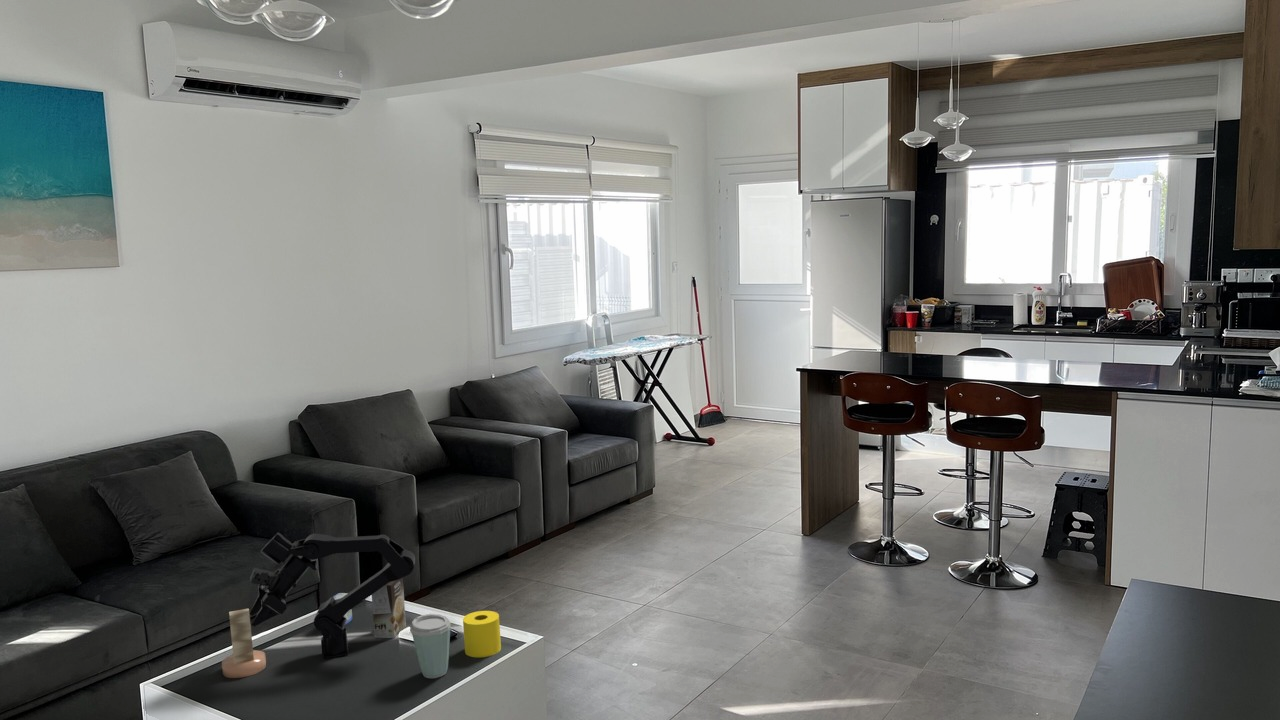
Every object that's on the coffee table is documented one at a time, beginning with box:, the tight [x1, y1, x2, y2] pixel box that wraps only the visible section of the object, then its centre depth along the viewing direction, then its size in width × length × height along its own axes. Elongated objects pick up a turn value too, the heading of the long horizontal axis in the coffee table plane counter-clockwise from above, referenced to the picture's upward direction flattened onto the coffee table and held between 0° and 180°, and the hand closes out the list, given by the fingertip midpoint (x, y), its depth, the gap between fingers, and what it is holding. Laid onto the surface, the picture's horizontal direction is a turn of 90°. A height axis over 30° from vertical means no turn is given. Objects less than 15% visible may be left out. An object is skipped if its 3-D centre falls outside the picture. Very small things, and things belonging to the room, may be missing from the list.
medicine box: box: [332, 592, 353, 626], centre depth 288 cm, size 8×4×9 cm, turn 169°
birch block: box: [228, 608, 254, 664], centre depth 259 cm, size 5×5×13 cm
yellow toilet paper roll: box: [462, 610, 502, 658], centre depth 265 cm, size 10×10×9 cm
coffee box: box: [371, 577, 407, 639], centre depth 280 cm, size 9×6×16 cm
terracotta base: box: [221, 649, 267, 679], centre depth 259 cm, size 11×11×3 cm
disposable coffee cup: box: [409, 613, 452, 679], centre depth 250 cm, size 11×11×15 cm
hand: (251, 620), depth 259 cm, fingers open, 9 cm apart
